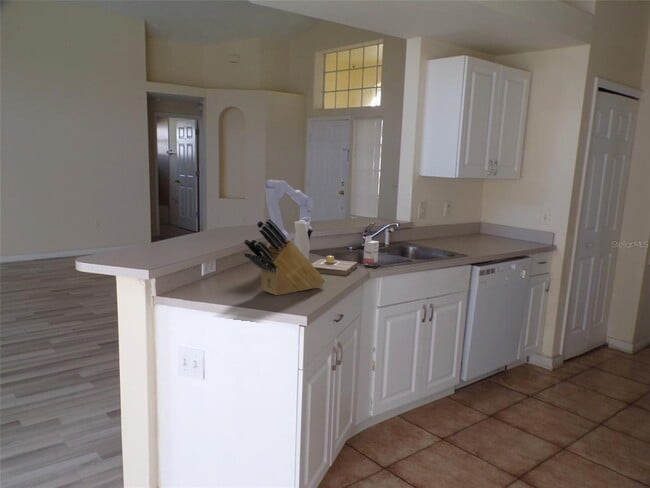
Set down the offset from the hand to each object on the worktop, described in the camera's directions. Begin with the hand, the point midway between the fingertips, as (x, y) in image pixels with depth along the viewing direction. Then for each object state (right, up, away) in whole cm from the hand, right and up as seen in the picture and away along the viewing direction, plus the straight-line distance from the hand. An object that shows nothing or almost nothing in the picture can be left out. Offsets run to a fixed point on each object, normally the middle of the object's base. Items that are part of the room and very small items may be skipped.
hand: (304, 244), depth 268 cm
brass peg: (+14, -12, -13) cm, 23 cm away
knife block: (-6, -20, -61) cm, 65 cm away
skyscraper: (0, -15, -35) cm, 38 cm away
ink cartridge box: (+36, -10, +5) cm, 38 cm away
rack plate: (+15, -13, -16) cm, 25 cm away
